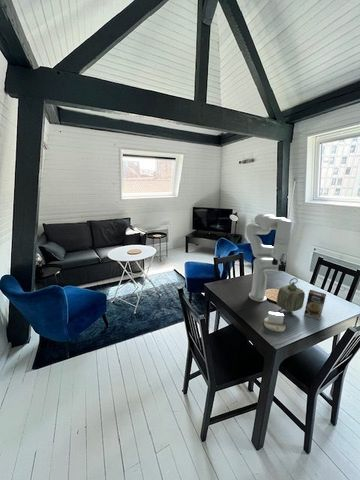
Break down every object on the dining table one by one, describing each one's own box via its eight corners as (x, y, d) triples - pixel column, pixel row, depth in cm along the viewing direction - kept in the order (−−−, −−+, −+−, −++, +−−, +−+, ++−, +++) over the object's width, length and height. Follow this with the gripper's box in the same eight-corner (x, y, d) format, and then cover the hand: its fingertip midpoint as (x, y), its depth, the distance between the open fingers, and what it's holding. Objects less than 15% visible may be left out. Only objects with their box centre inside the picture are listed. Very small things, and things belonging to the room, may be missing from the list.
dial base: (261, 318, 131) (261, 316, 131) (280, 319, 130) (281, 317, 130) (267, 331, 120) (267, 328, 119) (288, 332, 119) (289, 330, 118)
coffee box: (303, 314, 136) (308, 292, 132) (305, 310, 141) (309, 289, 137) (320, 320, 130) (325, 297, 126) (321, 315, 135) (326, 293, 131)
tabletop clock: (290, 307, 144) (296, 274, 138) (302, 314, 136) (309, 279, 130) (274, 311, 139) (280, 277, 132) (286, 319, 131) (292, 283, 124)
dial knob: (268, 322, 124) (269, 313, 123) (267, 320, 126) (268, 311, 125) (285, 325, 122) (286, 316, 121) (284, 322, 125) (285, 313, 123)
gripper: (270, 236, 130) (266, 262, 135) (281, 244, 113) (276, 273, 118) (282, 237, 130) (278, 262, 134) (295, 244, 113) (290, 273, 117)
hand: (277, 267), depth 126 cm, fingers open, 9 cm apart
